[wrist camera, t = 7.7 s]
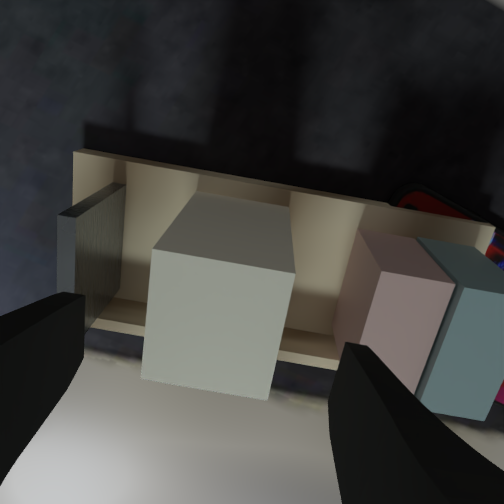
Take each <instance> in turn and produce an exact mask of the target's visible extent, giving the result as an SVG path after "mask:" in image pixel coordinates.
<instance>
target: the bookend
mask: <svg viewBox="0 0 504 504" xmlns="http://www.w3.org/2000/svg"><path fill="white" fill-rule="evenodd" d="M126 186H127V185H125V184H120V183H114V182H112V183H110V184H109V185H107V186H105V187H104V188H102V189H100V190H99V191H97V192H95V193H94V194H92V195H90V196H88V197H87V198H85V199H83V200H82V201H80V202H78V203H77V204H75V205H73V206H72V207H70V208H68V209H66V210H65V211H63V212H61V213H60V214H58V215H57V293H60V292H70V293H75V294H81V295H86V301H85V332H84V335H85V333H86V332H87V331H88V329H89V328H90V327H91V325H92V324H93V323H94V322H95V320H96V319H97V318H98V316H99V315H100V314H101V313H102V311H103V310H104V309H105V307H106V306H107V305H108V303H109V302H110V301H111V300H112V298H113V297H114V296H115V294H116V293H117V292H118V290H119V289H120V279H121V264H122V248H123V232H124V217H125V201H126Z"/></svg>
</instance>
